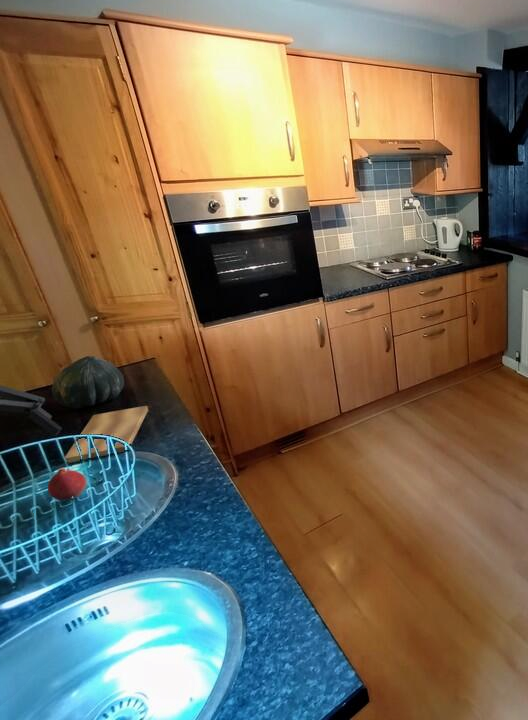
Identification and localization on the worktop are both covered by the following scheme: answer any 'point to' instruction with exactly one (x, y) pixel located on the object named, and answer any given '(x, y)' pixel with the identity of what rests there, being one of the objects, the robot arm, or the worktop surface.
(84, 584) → the worktop surface
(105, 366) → the squash
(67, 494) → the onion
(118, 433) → the cutting board
